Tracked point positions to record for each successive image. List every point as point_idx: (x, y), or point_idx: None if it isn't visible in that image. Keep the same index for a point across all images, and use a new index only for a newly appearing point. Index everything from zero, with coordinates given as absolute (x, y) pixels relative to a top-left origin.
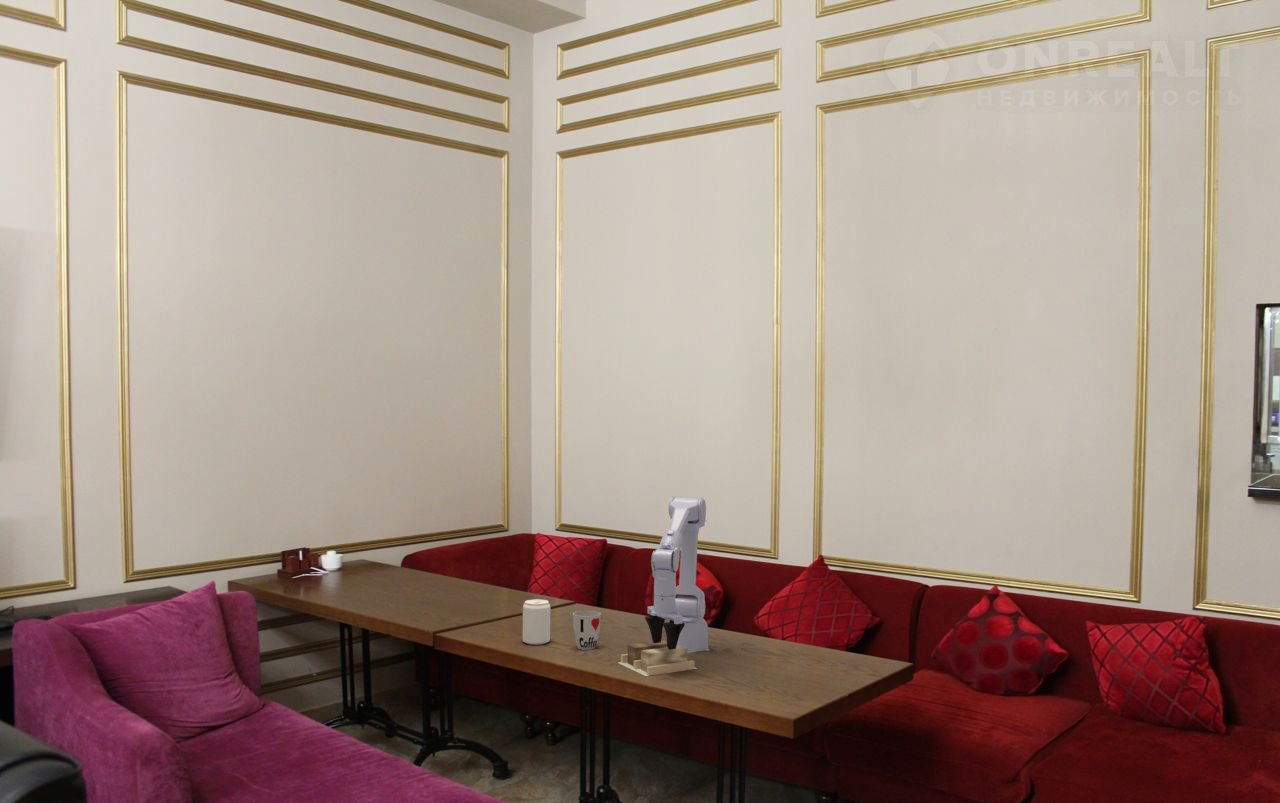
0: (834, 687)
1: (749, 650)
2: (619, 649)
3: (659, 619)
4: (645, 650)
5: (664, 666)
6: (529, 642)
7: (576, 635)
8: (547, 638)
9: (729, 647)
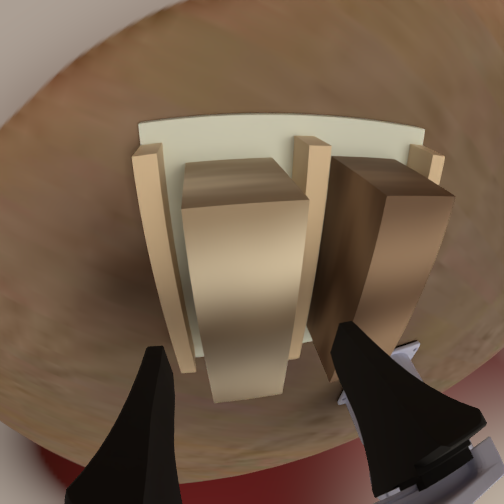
0: (34, 434)
1: (293, 438)
2: (497, 237)
3: (387, 469)
4: (291, 229)
5: (151, 255)
6: None
7: None
8: None
9: (333, 422)
